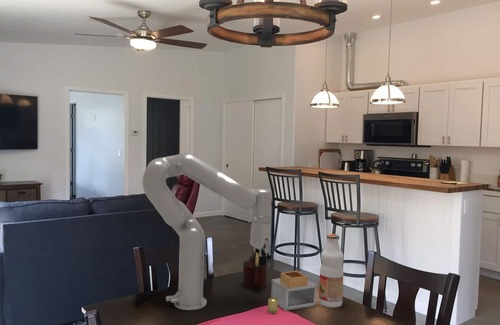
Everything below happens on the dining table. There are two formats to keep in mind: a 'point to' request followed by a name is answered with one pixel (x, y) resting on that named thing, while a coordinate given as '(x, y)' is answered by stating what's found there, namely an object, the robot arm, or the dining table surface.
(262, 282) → the oil can
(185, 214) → the robot arm
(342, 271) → the fruit juice
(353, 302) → the dining table surface
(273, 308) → the brass pellet
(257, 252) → the brass pellet
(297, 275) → the translucent plastic box
